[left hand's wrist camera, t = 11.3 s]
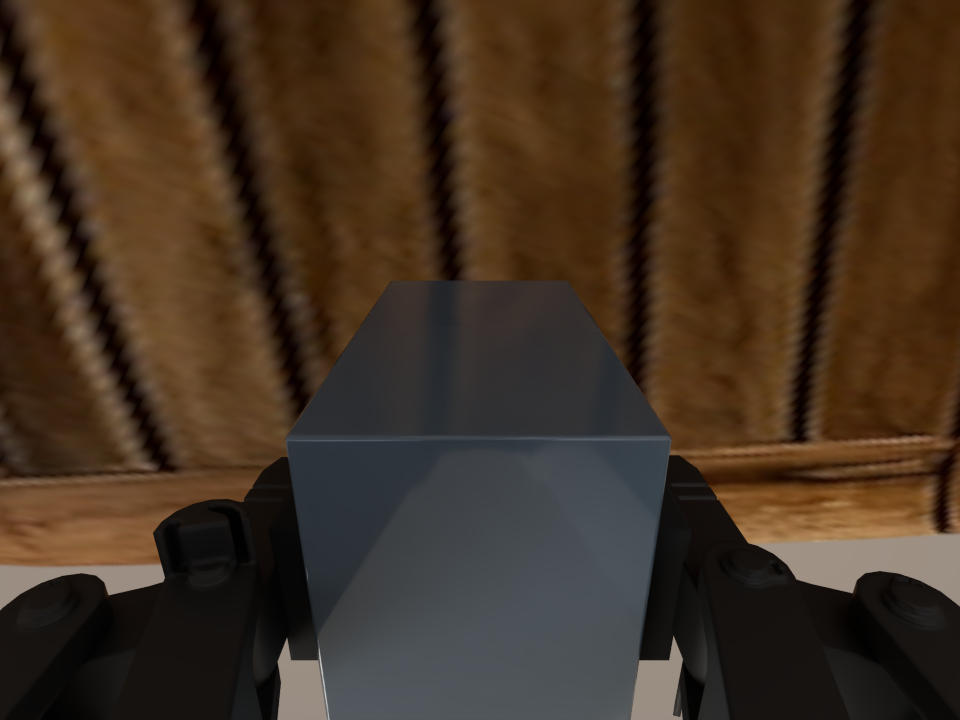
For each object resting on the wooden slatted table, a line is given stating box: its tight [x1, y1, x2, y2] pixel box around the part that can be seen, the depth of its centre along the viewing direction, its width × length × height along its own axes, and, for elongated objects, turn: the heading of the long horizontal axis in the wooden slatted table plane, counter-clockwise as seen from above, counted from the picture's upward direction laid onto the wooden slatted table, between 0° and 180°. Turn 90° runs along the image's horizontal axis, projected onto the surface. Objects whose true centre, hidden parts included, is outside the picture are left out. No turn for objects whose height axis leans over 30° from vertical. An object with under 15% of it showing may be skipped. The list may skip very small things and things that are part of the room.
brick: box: [285, 281, 672, 720], centre depth 12 cm, size 5×7×9 cm
